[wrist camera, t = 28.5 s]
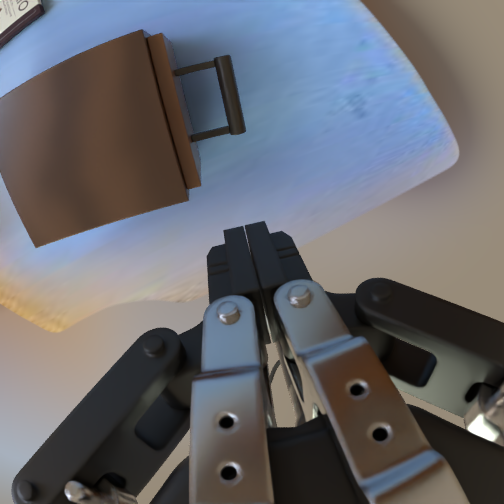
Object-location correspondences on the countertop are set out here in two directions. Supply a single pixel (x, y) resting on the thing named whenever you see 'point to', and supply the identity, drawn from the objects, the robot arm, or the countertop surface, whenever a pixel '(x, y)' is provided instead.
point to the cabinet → (89, 142)
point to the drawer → (177, 105)
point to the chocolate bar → (17, 17)
